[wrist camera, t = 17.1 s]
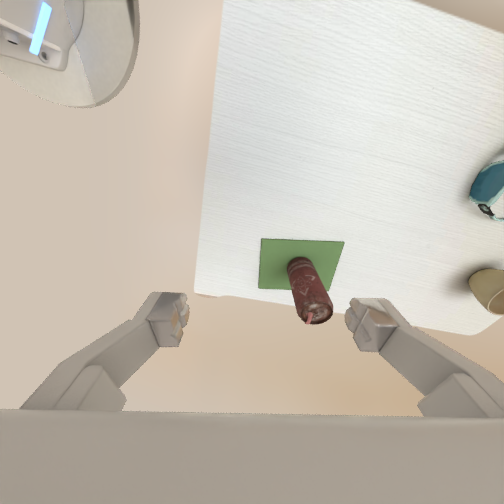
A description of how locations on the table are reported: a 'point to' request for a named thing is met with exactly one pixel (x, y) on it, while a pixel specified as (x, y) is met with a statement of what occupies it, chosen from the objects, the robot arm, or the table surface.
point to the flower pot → (489, 289)
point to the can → (308, 292)
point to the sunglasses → (488, 187)
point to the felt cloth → (283, 251)
